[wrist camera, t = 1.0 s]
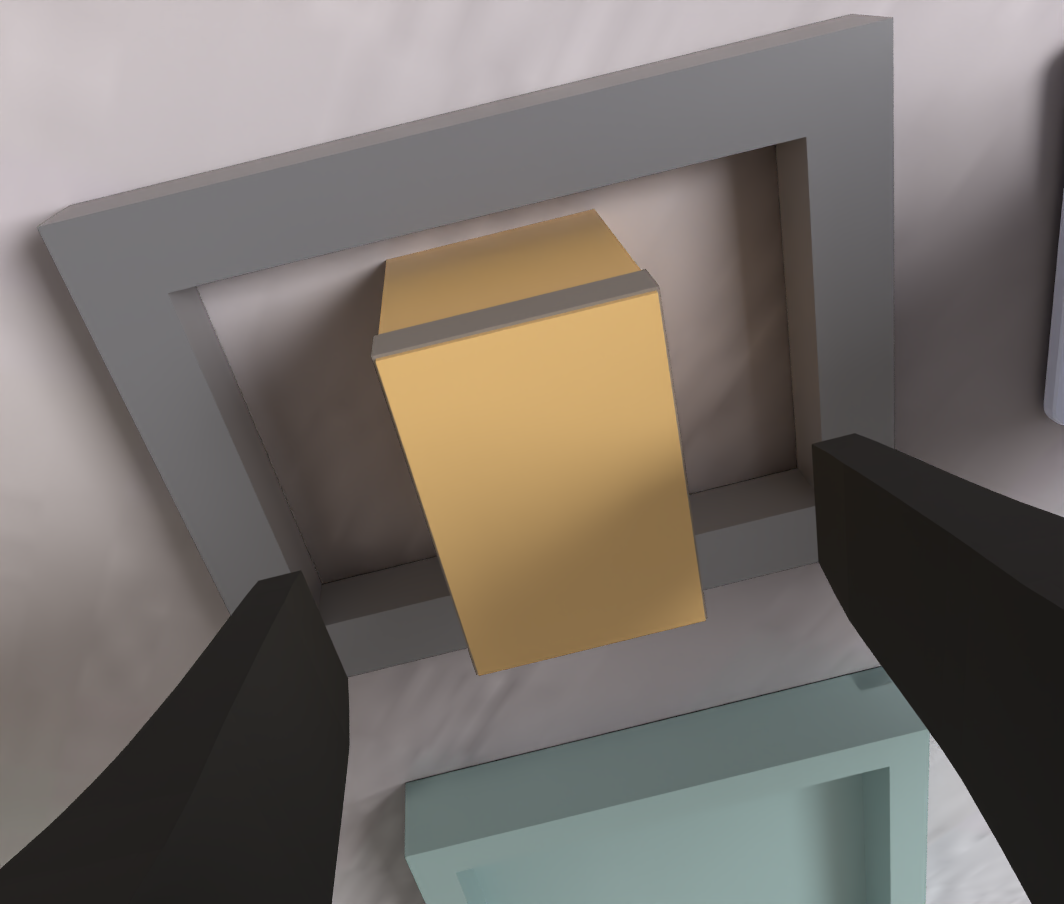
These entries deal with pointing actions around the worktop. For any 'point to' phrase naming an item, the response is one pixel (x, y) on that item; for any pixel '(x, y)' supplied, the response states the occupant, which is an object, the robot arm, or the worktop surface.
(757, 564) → the grey rectangular frame
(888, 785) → the parts tray
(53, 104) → the worktop surface
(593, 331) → the tan box
